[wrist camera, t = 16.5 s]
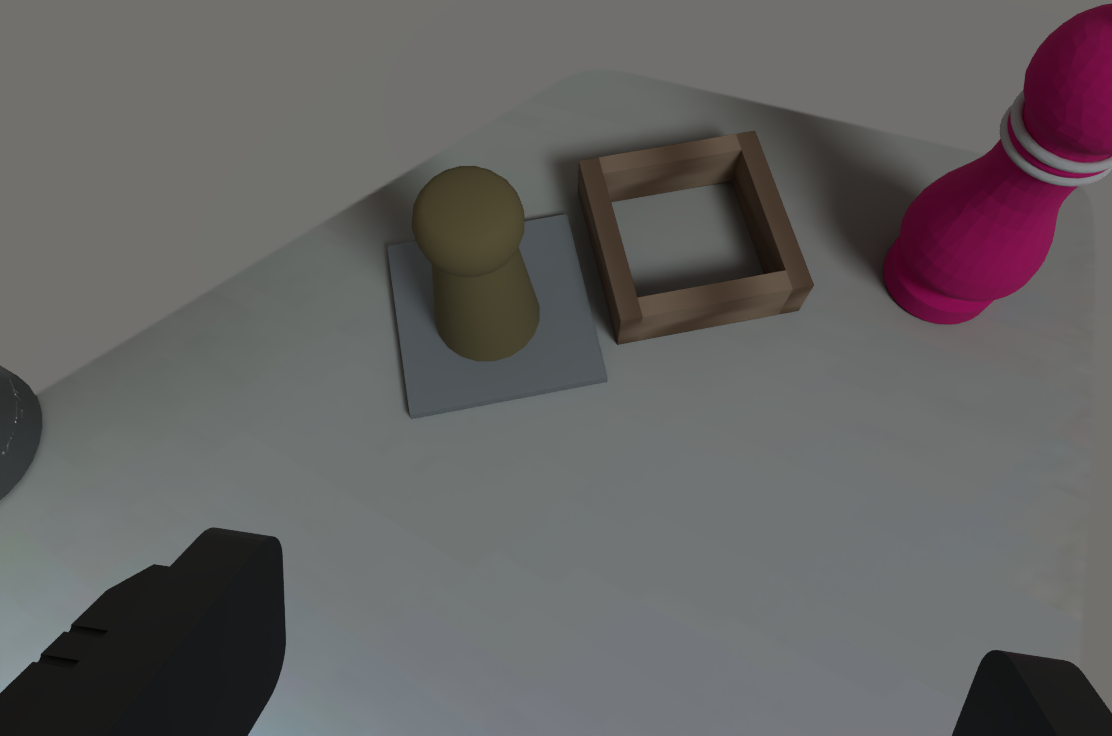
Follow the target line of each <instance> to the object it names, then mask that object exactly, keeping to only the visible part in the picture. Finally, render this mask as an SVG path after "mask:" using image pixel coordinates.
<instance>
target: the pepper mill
mask: <svg viewBox="0 0 1112 736" xmlns="http://www.w3.org/2000/svg"><path fill="white" fill-rule="evenodd" d="M1000 137H1001V139H1000V140H999V142H998V143H997V144H996V145H995V146H994V147H993V148H992V150H990V151H989V152H988V153H986V154H985V155H984V156H982V157H981V158H979V159H977V160H975V161H973V162H971V163H969V164H966V165H964V166H962V167H960V168H957V169H955V170H953V171H951V172H949V173H947V174H945V175H944V176H942V177H941V178H939V179H938V180H936V181H935V182H933V183H932V184H931V185H929V186H928V187H927V188H925V189H924V190H923V191H922V192H921V193H920V195H919V196H918V197H917V198H916V199H915V200H914V201H913V202H912V203H911V205H910V206H909V208H908V209H907V211H906V213H905V216H904V218H903V221H902V224H901V229H900V236H899V237H898V238H897V240H896V241H895V243H894V244H893V245H892V247H891V248H890V250H889V251H888V253H887V255H886V258H885V261H884V267H883V272H884V280H885V284H886V286H887V288H888V290H889V292H890V294H891V296H892V297H893V298H894V299H895V300H896V302H897V303H898V304H899V305H900V306H901V307H902V308H904V309H905V310H906V311H908V312H909V313H910V314H912V315H913V316H915V317H918V318H920V319H922V320H925V321H928V322H932V323H936V324H958V323H962V322H965V321H968V320H970V319H972V318H974V317H976V316H977V315H979V314H980V313H981V312H982V311H983V310H984V309H985V308H986V307H987V306H988V305H989V304H991V303H992V302H993V301H994V300H996V299H999V298H1003V297H1006V296H1008V295H1010V294H1012V293H1014V292H1016V291H1017V290H1019V289H1020V288H1021V287H1023V286H1024V285H1025V284H1026V283H1027V282H1028V281H1029V280H1030V279H1031V277H1032V276H1033V275H1034V274H1035V273H1036V272H1037V271H1038V269H1039V268H1040V266H1041V265H1042V263H1043V262H1044V260H1045V258H1046V256H1047V253H1048V251H1049V249H1050V246H1051V244H1052V241H1053V236H1054V232H1055V226H1056V220H1057V214H1058V211H1059V208H1060V206H1061V204H1062V203H1063V201H1064V200H1065V199H1066V198H1067V197H1068V195H1069V194H1070V193H1071V192H1072V191H1073V190H1074V189H1075V188H1077V187H1078V186H1082V185H1087V184H1090V183H1093V182H1096V181H1098V180H1100V179H1101V178H1103V177H1104V176H1105V175H1107V174H1108V173H1109V172H1110V171H1111V169H1112V4H1106V5H1101V6H1098V7H1095V8H1092V9H1089V10H1086V11H1084V12H1082V13H1079V14H1077V15H1076V16H1074V17H1072V18H1071V19H1069V20H1068V21H1066V22H1065V23H1063V24H1062V25H1061V26H1060V27H1058V28H1057V29H1056V30H1055V31H1054V32H1052V33H1051V34H1050V35H1049V36H1048V37H1047V38H1046V40H1045V41H1044V42H1043V43H1042V44H1041V45H1040V46H1039V48H1038V50H1037V51H1036V53H1035V54H1034V56H1033V58H1032V59H1031V62H1030V64H1029V66H1028V68H1027V70H1026V74H1025V82H1024V89H1023V91H1022V92H1021V93H1020V94H1019V95H1018V96H1017V98H1016V99H1015V101H1014V103H1013V105H1012V106H1010V107H1009V108H1008V110H1007V111H1006V113H1005V114H1004V116H1003V118H1002V121H1001V124H1000Z"/></svg>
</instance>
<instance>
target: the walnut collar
mask: <svg viewBox="0 0 1112 736" xmlns="http://www.w3.org/2000/svg"><path fill="white" fill-rule="evenodd" d="M729 181H732V184H733V187H734V190H735V193H736V195H737V198H738V201H739V204H740V207H741V209H742V212H743V215H744V218H745V221H746V223H747V226H748V229H749V232H750V235H751V238H752V240H753V243H754V246H755V249H756V252H757V254H758V257H759V260H760V263H761V266H762V269H763V271H764V274H763V275H758V276H752V277H747V278H741V279H736V280H730V281H725V282H719V283H714V284H709V285H703V286H698V287H692V288H687V289H681V290H676V291H671V292H665V293H660V294H654V295H649V296H643V297H638V298H637V294H636V291H635V287H634V283H633V280H632V276H631V272H630V269H629V265H628V262H627V258H626V254H625V251H624V247H623V243H622V240H621V236H620V233H619V229H618V225H617V222H616V218H615V215H614V211H613V207H612V204H611V202H614V201H620V200H626V199H632V198H637V197H643V196H649V195H655V194H660V193H666V192H672V191H677V190H683V189H689V188H695V187H700V186H706V185H712V184H718V183H723V182H729ZM578 193H579V197H580V201H581V205H582V209H583V213H584V217H585V221H586V224H587V228H588V232H589V236H590V240H591V244H592V248H593V252H594V256H595V259H596V263H597V267H598V271H599V275H600V279H601V283H602V287H603V290H604V294H605V298H606V302H607V306H608V310H609V314H610V318H611V322H612V325H613V329H614V333H615V337H616V341H617V345H618V344H624V343H629V342H634V341H640V340H645V339H650V338H656V337H661V336H666V335H672V334H677V333H682V332H688V331H693V330H698V329H703V328H709V327H714V326H719V325H725V324H730V323H735V322H741V321H746V320H751V319H757V318H762V317H767V316H773V315H778V314H783V313H789V312H794V311H799V309H800V307H801V306H802V304H803V302H804V301H805V299H806V297H807V296H808V294H809V292H810V291H811V289H812V287H813V286H814V284H813V281H812V279H811V276H810V274H809V271H808V268H807V266H806V263H805V260H804V258H803V255H802V253H801V250H800V247H799V245H798V242H797V240H796V237H795V234H794V232H793V229H792V226H791V224H790V221H789V219H788V216H787V213H786V211H785V208H784V206H783V203H782V200H781V198H780V195H779V192H778V190H777V187H776V185H775V182H774V179H773V177H772V174H771V171H770V169H769V166H768V164H767V161H766V158H765V156H764V153H763V151H762V148H761V145H760V143H759V140H758V137H757V135H756V132H755V131H750V132H744V133H739V134H733V135H727V136H721V137H715V138H709V139H703V140H697V141H692V142H686V143H680V144H674V145H668V146H662V147H656V148H650V149H645V150H639V151H633V152H627V153H621V154H615V155H609V156H604V157H598V158H592V159H586V160H580V161H579V173H578Z"/></svg>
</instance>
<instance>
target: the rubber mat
mask: <svg viewBox="0 0 1112 736" xmlns="http://www.w3.org/2000/svg"><path fill="white" fill-rule="evenodd" d="M519 249H520V252H521V255H522V258H523V261H524V263H525V266H526V269H527V272H528V275H529V278H530V280H531V283H532V286H533V289H534V292H535V295H536V297H537V300H538V303H539V306H540V320H539V324H538V326H537V329H536V332H535V334H534V336H533V337H532V338H531V340H530V341H529V342H528V343H527V345H526V346H525V347H524V348H523V349H521V350H519V351H518V352H516V353H515V354H513V355H512V356H510V357H507V358H504V359H500V360H497V361H474V360H471V359H467V358H464V357H461V356H459V355H458V354H457V353H455V352H454V351H452V350H451V349H449V348H448V347H447V345H446V344H445V343H444V341H443V340H442V339H441V337H440V336H439V333H438V330H437V326H436V323H435V312H434V295H433V278H432V264H431V262H430V261H429V260H428V259H427V258H426V257H425V255H424V254H423V253H422V251H421V250H420V249H419V247H418V245H417V242H416V240H415V241H409V242H404V243H398V244H392V245H387V250H388V257H389V265H390V272H391V279H392V287H393V294H394V302H395V309H396V317H397V324H398V332H399V339H400V346H401V354H402V361H403V369H404V376H405V384H406V391H407V399H408V406H409V413H410V417H411V418H412V419H414V418H419V417H424V416H429V415H435V414H440V413H445V412H450V411H456V410H461V409H466V408H471V407H476V406H482V405H487V404H492V403H497V402H503V401H508V400H513V399H518V398H524V397H529V396H534V395H539V394H544V393H550V392H555V391H560V390H565V389H571V388H576V387H581V386H586V385H592V384H597V383H602V382H607V374H606V370H605V366H604V362H603V357H602V353H601V349H600V345H599V341H598V337H597V333H596V329H595V325H594V321H593V317H592V313H591V309H590V305H589V301H588V297H587V293H586V289H585V285H584V281H583V277H582V273H581V269H580V264H579V260H578V256H577V252H576V248H575V244H574V240H573V236H572V232H571V228H570V224H569V220H568V216H567V214H563V215H558V216H552V217H546V218H541V219H535V220H529V221H524V235H523V237H522V240H521V242H520V245H519Z"/></svg>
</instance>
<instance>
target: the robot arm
mask: <svg viewBox="0 0 1112 736" xmlns="http://www.w3.org/2000/svg"><path fill="white" fill-rule="evenodd" d="M41 430H42V420H41V410H40V407H39V404H38V400H37V397H36V396H35V394H34V393H33V392H32V390H31V388H30V387H29V386H28V385H27V384H26V383H25V382H24V381H23V380H22V379H20V378H19V377H18V376H17V375H15V374H13V373H12V372H10V371H8V370H7V369H5V368H3V367H2V366H0V500H1V499H2V498H3V497H4V496H6V495H7V494H8V493H9V492H10V491H11V490H12V488H13V487H14V486H15V485H16V484H17V483H18V482H19V481H20V479H21V478H22V477H23V475H24V474H25V472H26V470H27V469H28V467H29V466H30V464H31V462H32V460H33V458H34V455H35V453H36V450H37V448H38V445H39V441H40V435H41ZM285 647H286V630H285V605H284V579H283V555H282V548H281V544H280V542H279V540H278V539H277V538H276V537H273V536H266V535H260V534H253V533H247V532H240V531H234V530H227V529H221V528H209V529H207V530H205V531H204V532H203V533H202V534H201V535H200V536H199V537H198V538H197V539H196V540H195V541H194V542H193V543H192V544H191V545H190V546H189V547H188V548H187V549H186V550H185V551H184V552H183V553H182V554H181V555H180V557H179V558H178V559H177V560H176V561H175V562H174V563H173V564H172V565H171V566H170V567H168V566H162V565H155V564H154V565H152V566H150V567H148V568H146V569H144V570H143V571H141V572H139V573H137V574H135V575H134V576H132V577H130V578H128V579H126V580H124V581H123V582H121V583H119V584H117V585H115V586H114V587H112V588H110V589H108V590H107V591H105V592H104V593H103V594H102V595H101V596H100V597H99V598H98V599H97V600H96V601H95V602H94V603H93V604H92V605H91V606H90V607H89V608H88V609H87V610H86V611H85V612H84V613H83V614H82V615H81V616H80V617H79V618H78V619H77V620H76V621H74V622H73V623H72V624H71V629H70V631H69V632H63V633H62V634H61V635H60V636H59V637H58V638H57V639H56V640H55V641H54V642H53V643H52V644H51V645H50V646H49V647H48V648H47V649H46V650H44V651H43V652H42V653H41V657H40V660H39V661H38V662H32V663H31V664H30V665H29V666H28V667H27V668H26V669H25V670H24V671H23V672H22V673H21V674H20V675H19V676H18V677H17V678H16V679H15V680H13V681H12V682H11V683H10V684H9V685H8V686H7V687H6V688H5V689H4V690H3V691H2V692H1V693H0V736H248V734H249V732H250V731H251V729H252V727H253V726H254V724H255V722H256V721H257V719H258V717H259V716H260V714H261V712H262V711H263V709H264V707H265V706H266V704H267V702H268V701H269V699H270V697H271V695H272V693H273V691H274V689H275V687H276V684H277V682H278V679H279V676H280V673H281V669H282V665H283V661H284V655H285ZM952 736H1112V713H1111V712H1110V710H1109V709H1108V708H1107V706H1106V705H1105V703H1104V702H1103V700H1102V699H1101V698H1100V696H1099V695H1098V693H1097V692H1096V691H1095V689H1094V688H1093V686H1092V685H1091V684H1090V682H1089V681H1088V679H1087V678H1086V677H1085V675H1084V674H1083V673H1082V671H1081V670H1080V669H1079V668H1078V667H1077V666H1076V665H1074V664H1073V663H1071V662H1069V661H1065V660H1058V659H1052V658H1045V657H1039V656H1032V655H1026V654H1019V653H1013V652H1006V651H1000V650H992V651H990V652H988V653H987V654H986V655H985V656H984V658H983V659H982V660H981V663H980V665H979V667H978V669H977V672H976V675H975V677H974V680H973V682H972V685H971V687H970V690H969V693H968V695H967V698H966V700H965V703H964V705H963V708H962V711H961V713H960V716H959V718H958V721H957V723H956V726H955V729H954V731H953V734H952Z"/></svg>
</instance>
